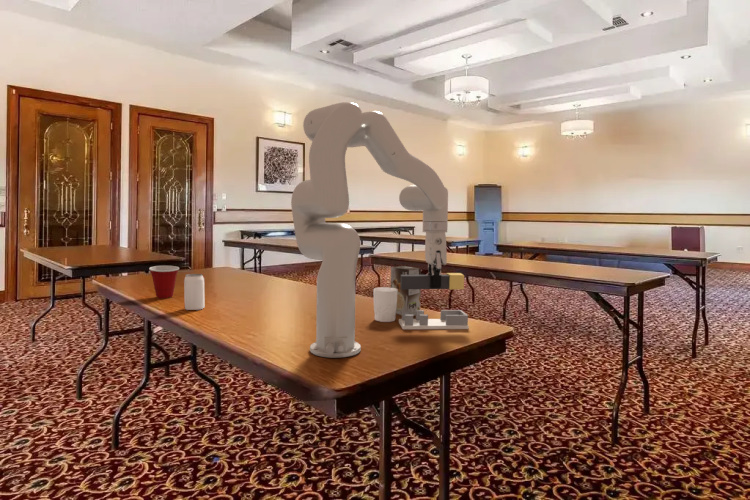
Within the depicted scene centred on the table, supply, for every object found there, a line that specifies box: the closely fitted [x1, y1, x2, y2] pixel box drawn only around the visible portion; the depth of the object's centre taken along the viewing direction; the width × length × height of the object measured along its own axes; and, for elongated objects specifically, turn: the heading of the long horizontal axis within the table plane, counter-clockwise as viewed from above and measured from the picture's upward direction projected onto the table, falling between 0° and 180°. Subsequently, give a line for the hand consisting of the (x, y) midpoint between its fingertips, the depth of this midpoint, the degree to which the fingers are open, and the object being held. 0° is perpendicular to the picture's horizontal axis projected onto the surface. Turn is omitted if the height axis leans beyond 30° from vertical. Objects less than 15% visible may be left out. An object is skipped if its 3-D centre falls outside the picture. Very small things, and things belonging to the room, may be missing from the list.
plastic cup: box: [149, 265, 180, 299], centre depth 178 cm, size 11×11×12 cm
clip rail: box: [398, 309, 470, 330], centre depth 140 cm, size 9×20×4 cm, turn 95°
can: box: [183, 273, 206, 311], centre depth 157 cm, size 6×6×12 cm
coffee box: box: [390, 265, 422, 317], centre depth 156 cm, size 9×6×16 cm
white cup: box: [373, 286, 398, 323], centre depth 146 cm, size 8×8×10 cm
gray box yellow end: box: [400, 272, 465, 290], centre depth 139 cm, size 19×4×4 cm, turn 95°
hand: (434, 286), depth 139 cm, fingers closed on gray box yellow end, 3 cm apart
